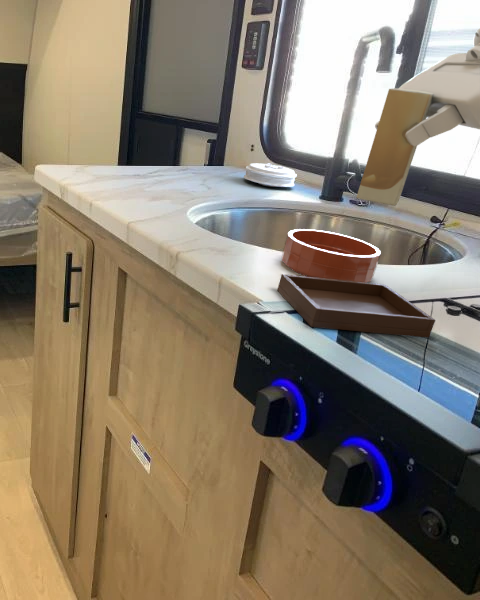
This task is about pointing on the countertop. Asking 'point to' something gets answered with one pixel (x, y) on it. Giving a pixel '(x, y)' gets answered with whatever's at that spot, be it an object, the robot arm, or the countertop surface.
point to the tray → (354, 306)
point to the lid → (270, 175)
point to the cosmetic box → (393, 146)
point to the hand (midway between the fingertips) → (392, 135)
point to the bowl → (330, 255)
